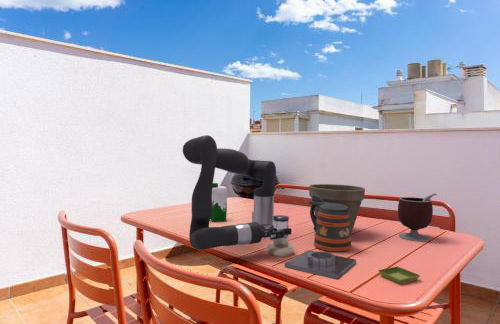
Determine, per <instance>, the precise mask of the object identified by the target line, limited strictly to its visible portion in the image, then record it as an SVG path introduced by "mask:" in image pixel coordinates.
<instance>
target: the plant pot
mask: <svg viewBox="0 0 500 324" xmlns="http://www.w3.org/2000/svg"><path fill="white" fill-rule="evenodd" d="M308 190H309V191H308V194H309V197H311V199H312V198H313V195H314V194H316V195H318V196H320V197H321V198H322V199H323V202H328V203H337V204H342V205H345V206H347V207H349V210H348V213H349V221H350V225H349V228H350V236H351V234H352V233H353V230H354V227H355V224H356V220H357V217H358V214H359V211H360V208H361V205H362V202H363V200H365V194H366V193H365V192H366V188H365V187H362V186H357V185H349V184H334V183H332V184H331V183H330V184H329V183H323V184H321V183H319V184H316V183H315V184H310V185H309V187H308ZM318 210H319V207H318V206H316V207H315V209H314V214H315V216H316V217H317V213H318Z"/></svg>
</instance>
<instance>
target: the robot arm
mask: <svg viewBox="0 0 500 324" xmlns="http://www.w3.org/2000/svg"><path fill="white" fill-rule="evenodd" d="M217 145H218V144H217V142H216V140H215V139H214V138H213V137H212V135H208V134H204V135H201V136H198V137H194V138H191V139H189V140H187V141H186V142H185V143H184V144H183V146H182V153H183V157H184V158H185V159H186V160H187V161H188V162H190V163H191V164H194V165H201V167H200V173H199V175H198V178H197V181H196V183H195V186H194V189H193V190H192V193H191V194H192V195H191V218H190V219H191V220H190V225H189V232H188V234H189V236H188V237H189V238H188V239H189V243H190V245H191V247H192V248H193V249H195V250H199V251H200V250H207V249H208V250H209V249H214V248H219V247H231V246H246V245H252V244H253V245H254V244H259V243H260V242H261V241H262V240H263V238H264V239H270V240H271V241H272V240H274V239H279V238H284V235H288V236H289V235H292V232H293V231H292V228H291V227H288V228H286V229H276V228H273V216H275V212H274V211H275V209H274V208H275V190H276V179H277V166H276V164H275V162H274V161H271V160H255V159H254V160H253V159H249V158H248V155H246V154H245V153H244V152H241V151H239V150H237V149H232V148H221V147H220V148H218V146H217ZM216 169H219V170H223V171H225V172H228V173H232V174H237V175H244V176H246V177H249V178H250V179H252V180H255V181H262V185H261V186H259V187H256V188H255V189H254V190H253V211H252V212H251V222H246V223H238V224H237V223H236V224H234V225H233V224H231V225H230V224H229V225H224V226H210V221H211V220H210V219H211V217H212V186H213V183H214V180H215V179H214V178H215V172H216ZM273 230H274V232H273ZM279 233H280V234H279Z"/></svg>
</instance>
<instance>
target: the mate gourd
mask: <svg viewBox="0 0 500 324" xmlns="http://www.w3.org/2000/svg"><path fill="white" fill-rule="evenodd" d="M434 196H437V193H436V192H435V193H432V194H430V195H427V196H425V197H414V196H413V197H411V196H405V197H404V196H403V197H399V200H398V204H397V215H398V216H397V217H398V221H399V222H400V223H401V225H402V226H404V227H406V228H408V229H409V230H410V231H409V232H401V233H399V234H398V237H399V239H403V240H406V241H410V242H411V241H412V242H428V241H427V240H429V239H431V237H429V236H428V235H426V234H422V233H419V230H422V229H425V228H427V227H428V226H430V224H432V219H433V215H434V214H433V213H434V212H433V211H434V207H433V202H432V197H434ZM429 241H430V240H429Z"/></svg>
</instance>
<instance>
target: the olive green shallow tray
mask: <svg viewBox="0 0 500 324" xmlns="http://www.w3.org/2000/svg"><path fill="white" fill-rule="evenodd" d="M377 272H378V273H379V274H380V275H381V277H383V278H386V279H388V280H390V281H393V282H394V283H397V284H399V285H401V284H405V283H409V282H414V281H416V280H418V279H419V278H420V277H421V275H420V274H418V273H416V272H413V271H411V270H408V269H405V268H403V267H401V266H393V267H386V268H381V269H378V270H377Z"/></svg>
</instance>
